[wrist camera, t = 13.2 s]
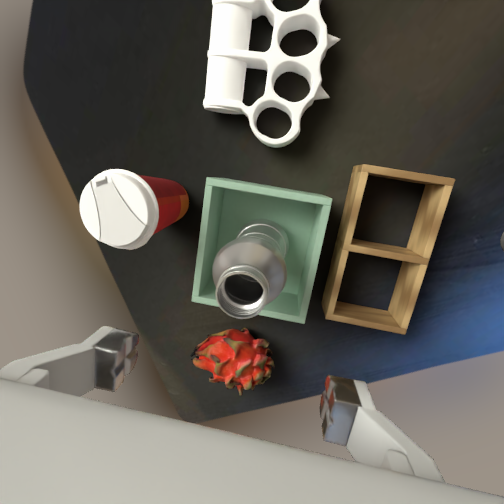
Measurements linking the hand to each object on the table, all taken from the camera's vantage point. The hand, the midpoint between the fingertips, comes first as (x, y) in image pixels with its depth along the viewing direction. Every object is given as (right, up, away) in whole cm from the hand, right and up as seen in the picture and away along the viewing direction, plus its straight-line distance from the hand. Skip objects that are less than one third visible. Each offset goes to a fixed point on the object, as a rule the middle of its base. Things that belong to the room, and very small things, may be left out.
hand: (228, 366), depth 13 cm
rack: (+17, +6, +27) cm, 33 cm away
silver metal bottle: (+2, +6, +28) cm, 29 cm away
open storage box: (+2, +6, +29) cm, 30 cm away
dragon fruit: (-1, -9, +33) cm, 34 cm away
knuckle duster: (+3, +27, +24) cm, 36 cm away
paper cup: (-10, +12, +29) cm, 33 cm away
